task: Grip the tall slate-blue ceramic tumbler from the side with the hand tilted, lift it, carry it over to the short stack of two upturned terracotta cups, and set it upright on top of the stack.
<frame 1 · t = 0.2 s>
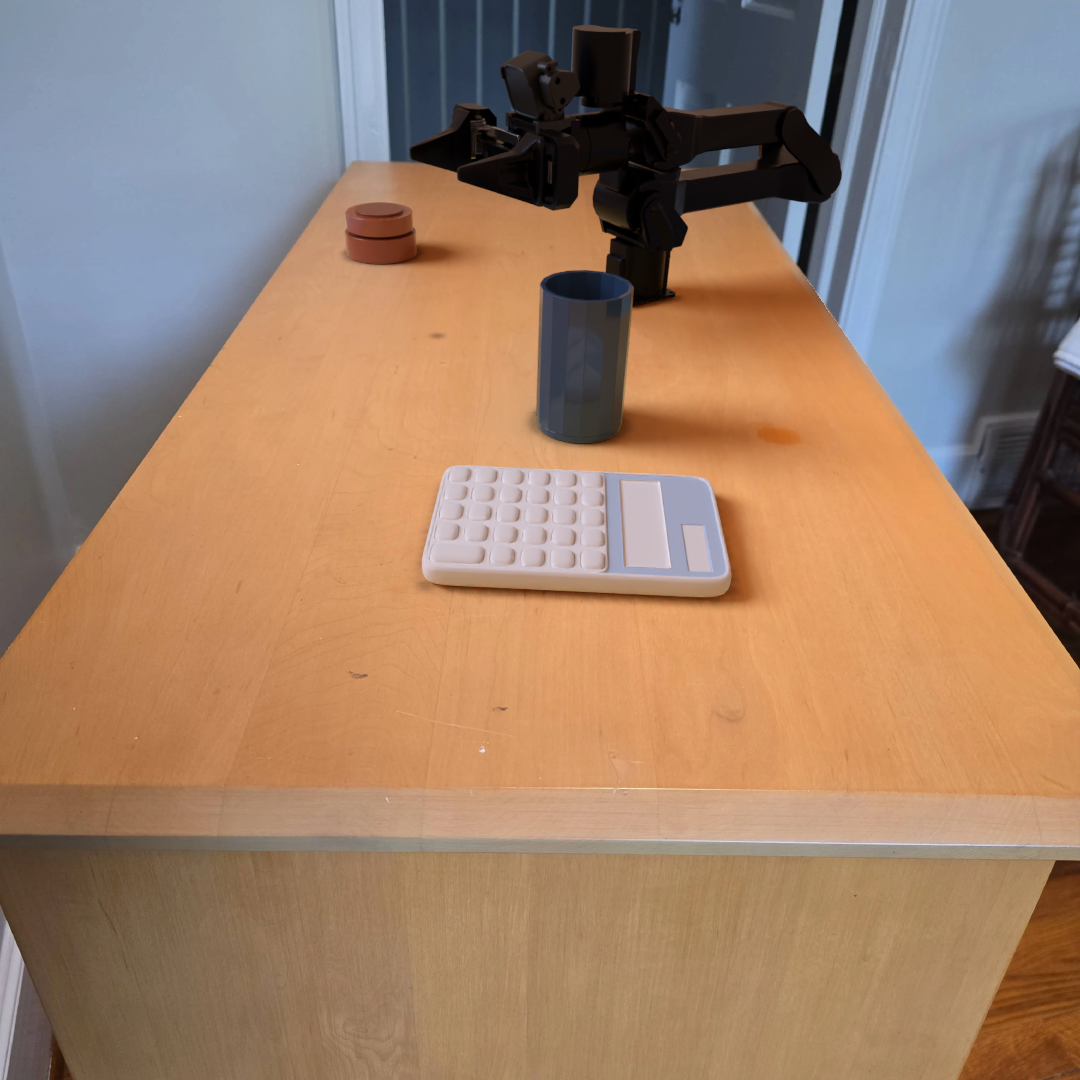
hand: (433, 163, 85), 17 cm above the table, tool horizontal, fingers open, 9 cm apart
calculator: (575, 538, 65), on the table
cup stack: (382, 253, 116), on the table
tumbler: (579, 423, 79), on the table
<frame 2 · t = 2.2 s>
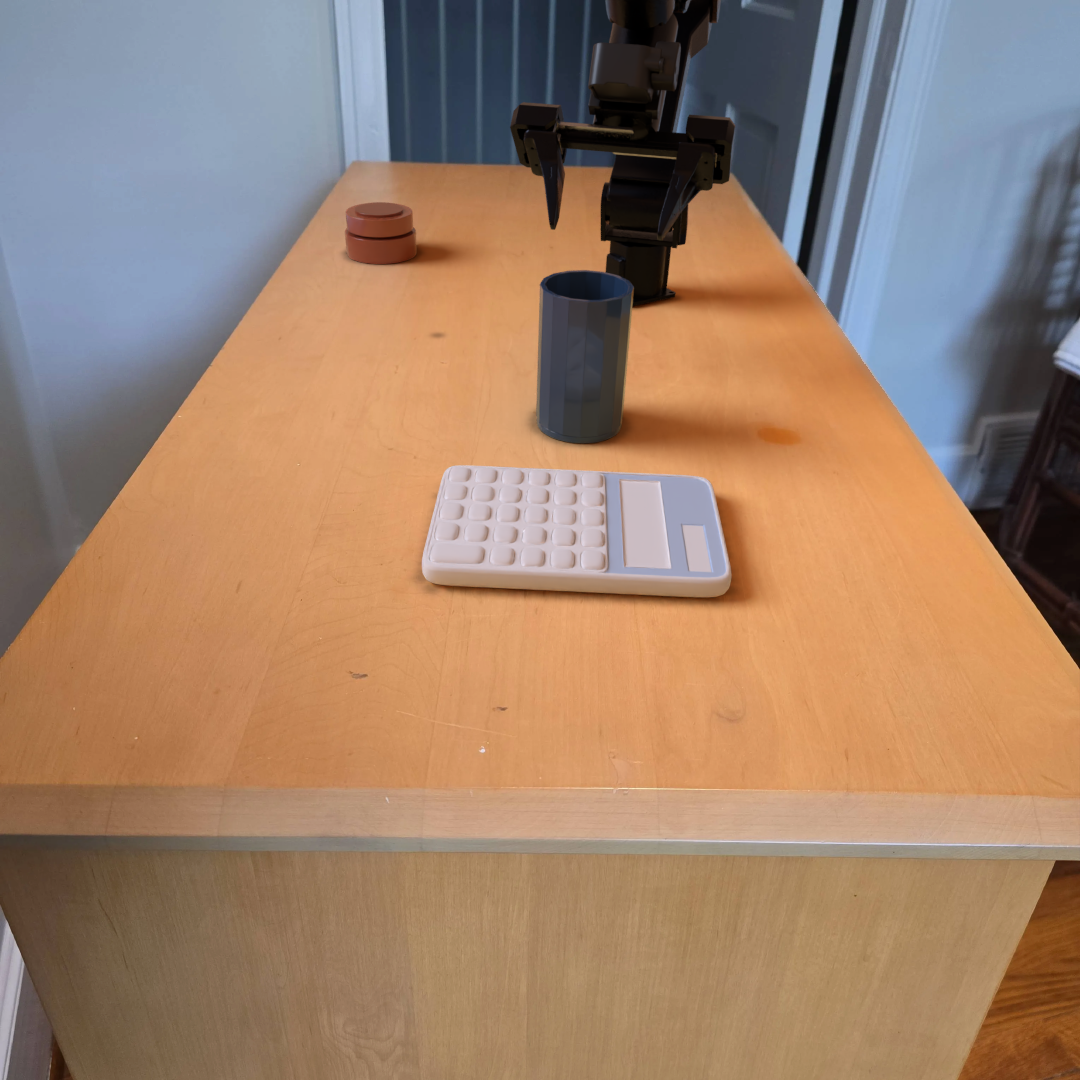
hand: (605, 232, 78), 14 cm above the table, tool tilted 45°, fingers open, 9 cm apart
nothing on the table moved.
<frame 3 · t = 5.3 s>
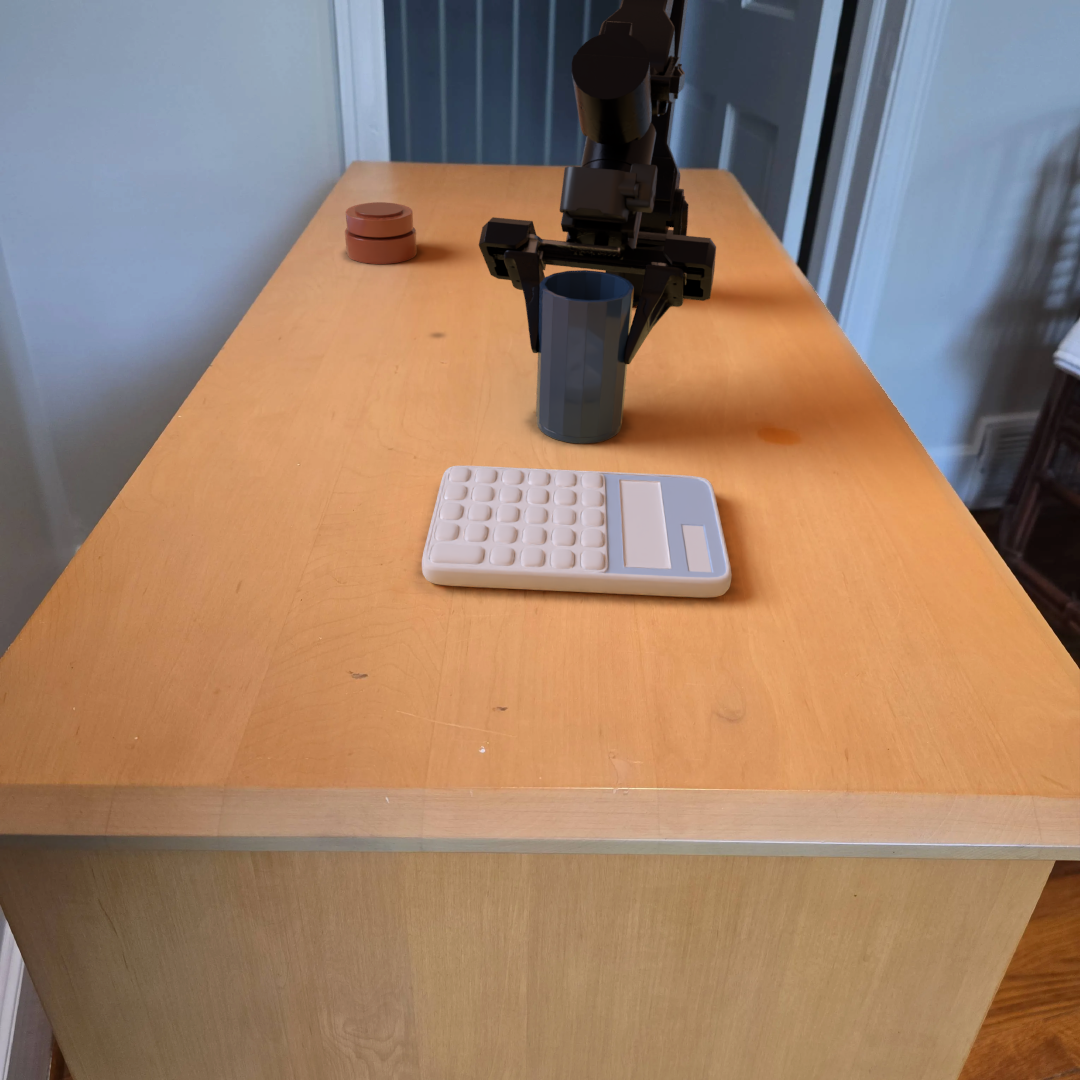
hand: (579, 356, 74), 7 cm above the table, tool tilted 45°, fingers closed on tumbler, 7 cm apart
tumbler: (579, 423, 79), on the table, touching gripper
everything else where it was.
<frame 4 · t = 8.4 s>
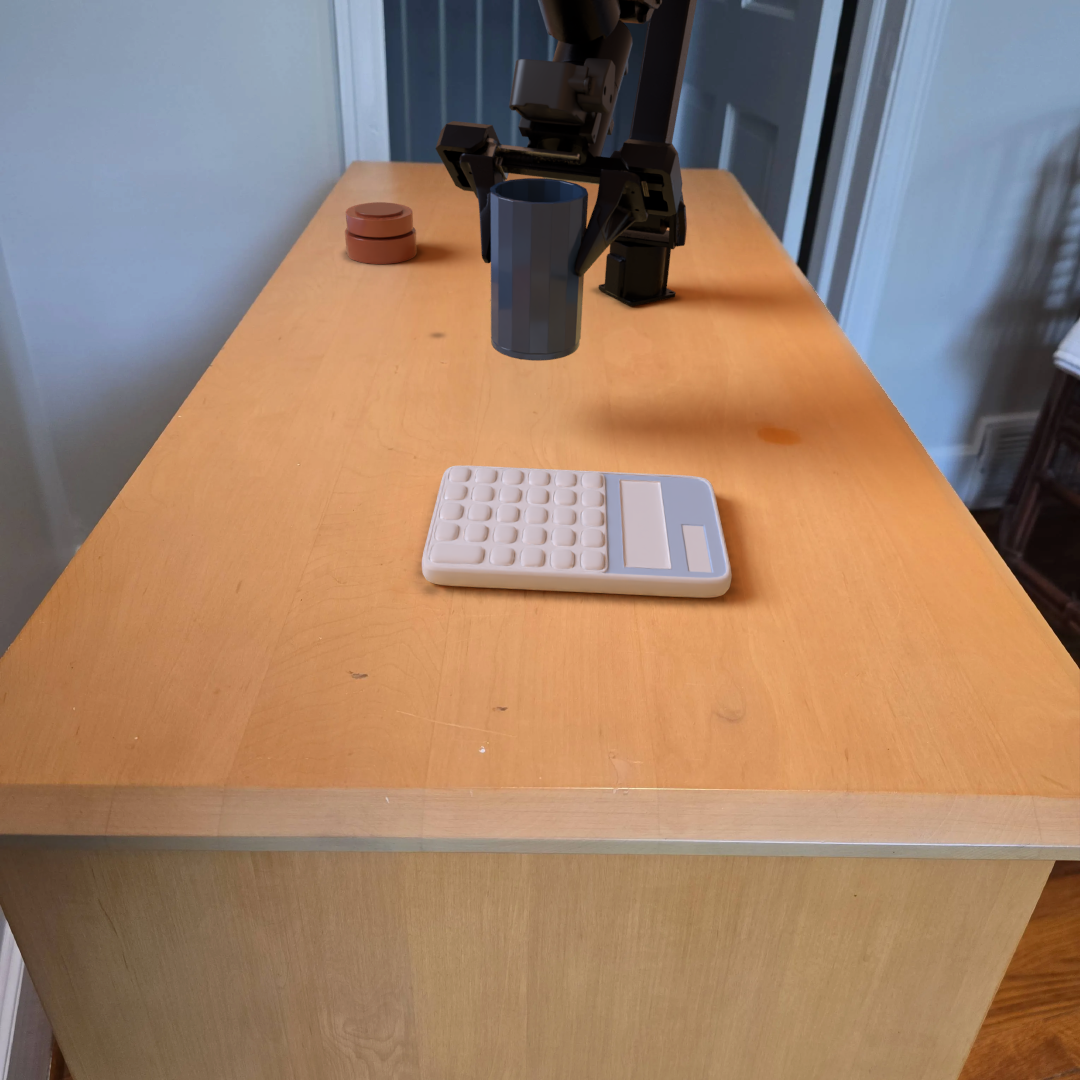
hand: (530, 267, 71), 13 cm above the table, tool tilted 45°, fingers closed on tumbler, 7 cm apart
tumbler: (535, 342, 76), point 7 cm above the table, touching gripper
everything else where it was.
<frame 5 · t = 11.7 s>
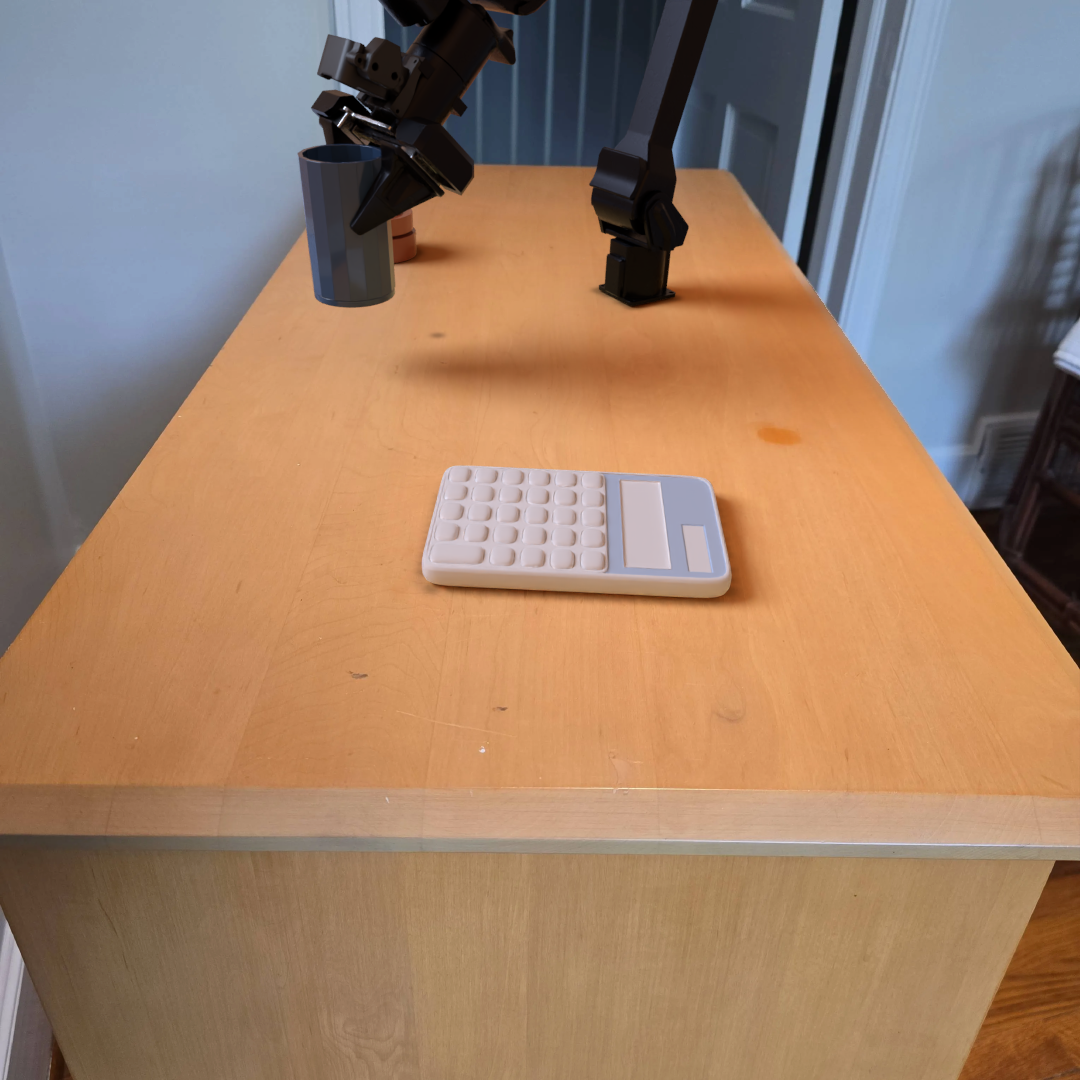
hand: (333, 221, 80), 13 cm above the table, tool tilted 45°, fingers closed on tumbler, 7 cm apart
tumbler: (355, 293, 84), point 7 cm above the table, touching gripper
everything else where it was.
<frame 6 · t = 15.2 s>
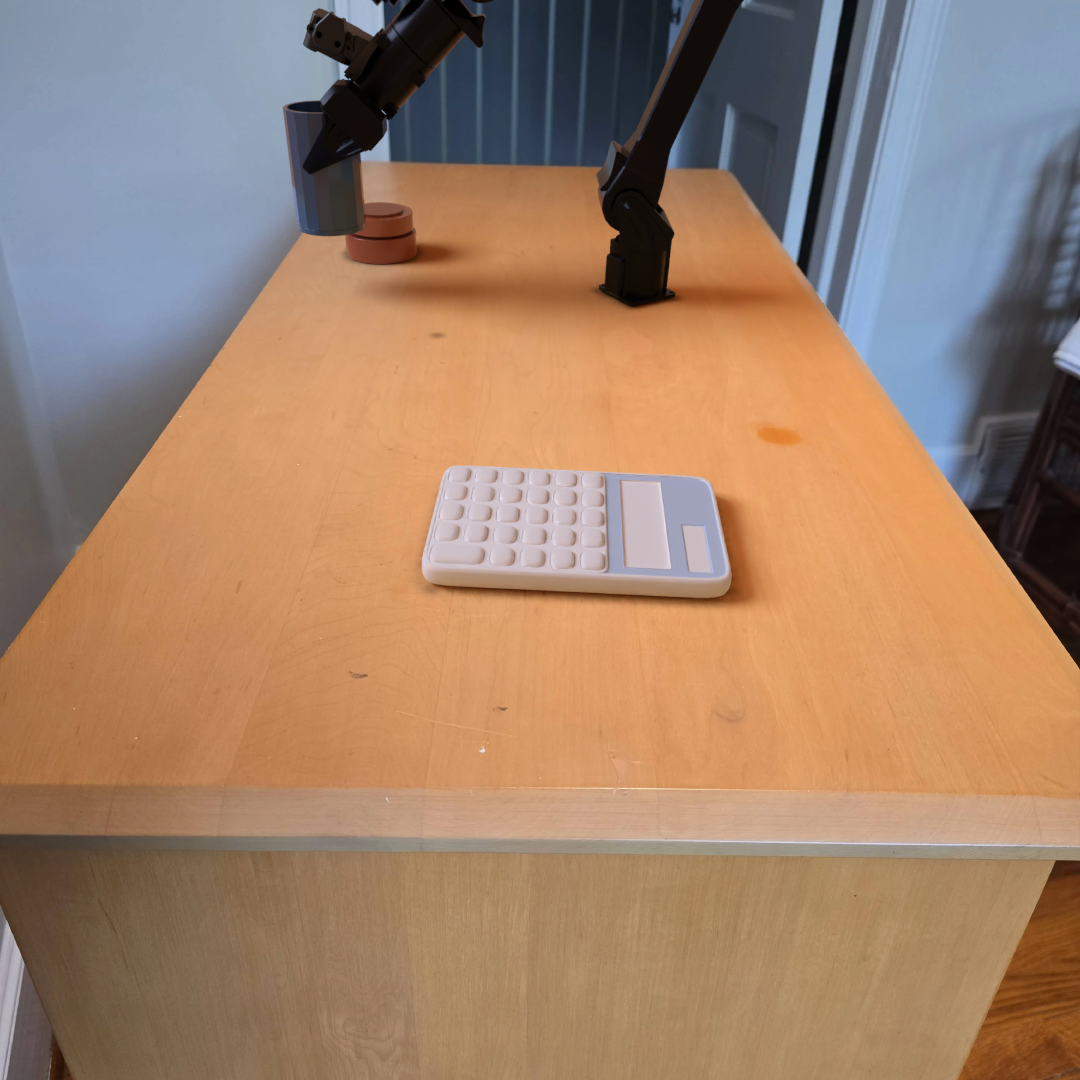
hand: (312, 162, 97), 13 cm above the table, tool tilted 45°, fingers closed on tumbler, 7 cm apart
tumbler: (332, 226, 101), point 7 cm above the table, touching gripper
everything else where it was.
when the fingers open (12 cm above the table, at t = 18.4 s): tumbler stays where it is, resting on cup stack.
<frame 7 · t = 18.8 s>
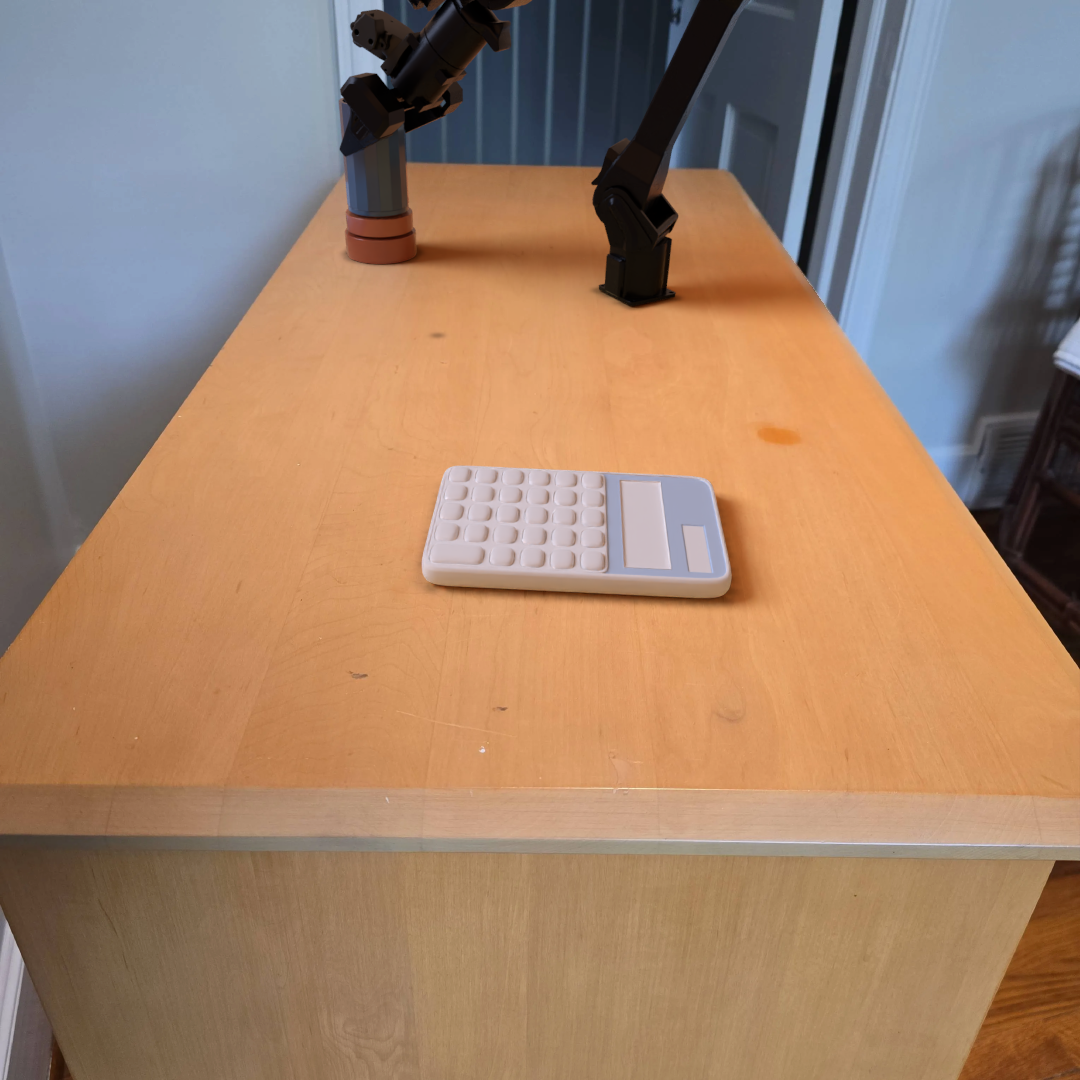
hand: (364, 145, 109), 12 cm above the table, tool tilted 45°, fingers open, 9 cm apart
tumbler: (378, 208, 113), point 5 cm above the table, touching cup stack
everything else where it was.
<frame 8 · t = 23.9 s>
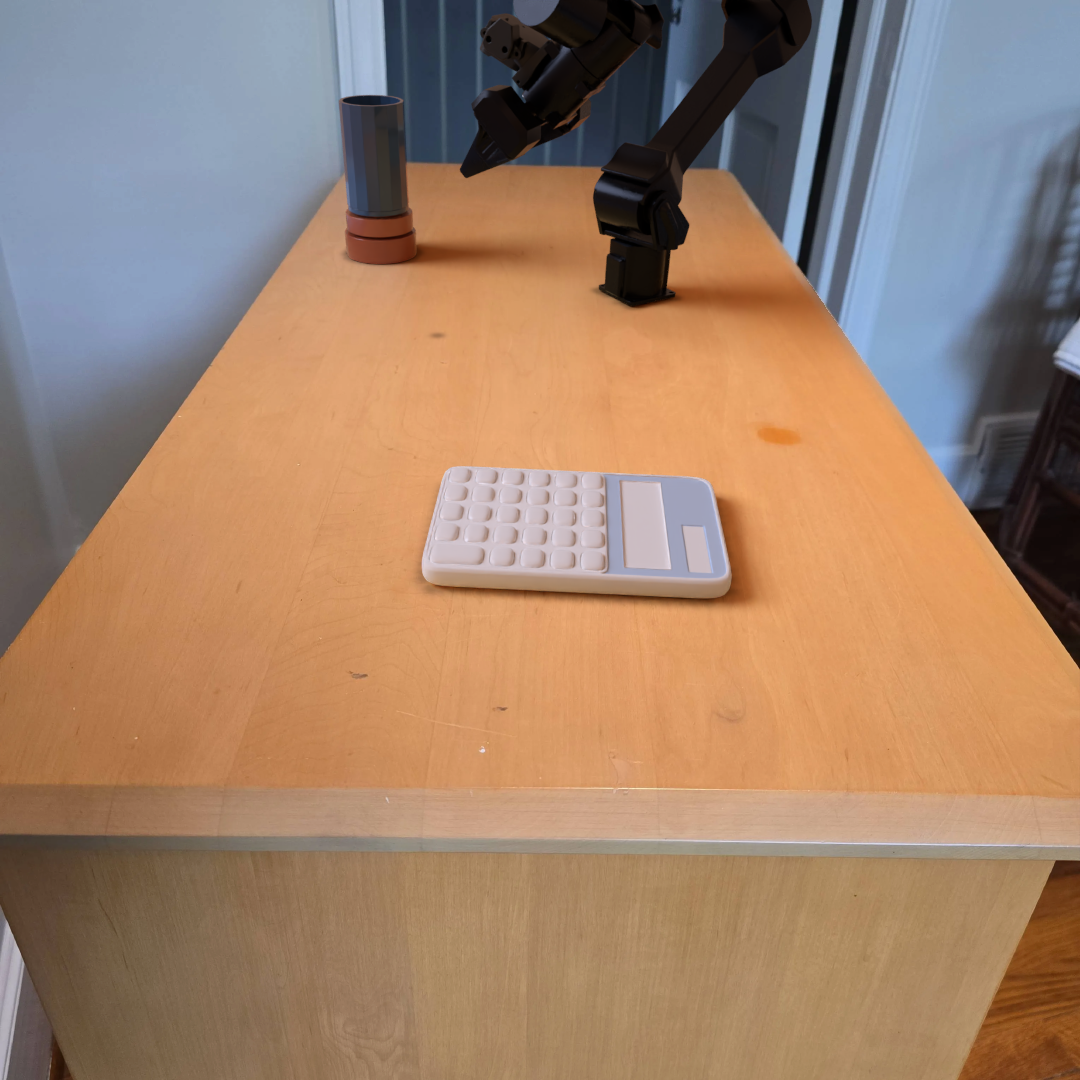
hand: (482, 164, 98), 14 cm above the table, tool tilted 45°, fingers open, 9 cm apart
nothing on the table moved.
at the end: tumbler 0.0 cm off-centre on the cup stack, point 5.4 cm above the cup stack's base; tumbler tilted 0°; the gripper is holding nothing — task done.
